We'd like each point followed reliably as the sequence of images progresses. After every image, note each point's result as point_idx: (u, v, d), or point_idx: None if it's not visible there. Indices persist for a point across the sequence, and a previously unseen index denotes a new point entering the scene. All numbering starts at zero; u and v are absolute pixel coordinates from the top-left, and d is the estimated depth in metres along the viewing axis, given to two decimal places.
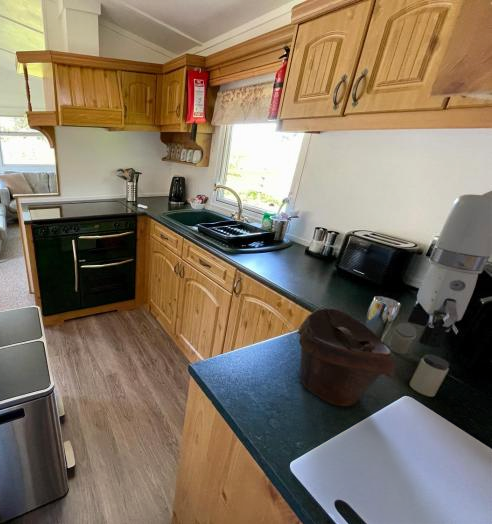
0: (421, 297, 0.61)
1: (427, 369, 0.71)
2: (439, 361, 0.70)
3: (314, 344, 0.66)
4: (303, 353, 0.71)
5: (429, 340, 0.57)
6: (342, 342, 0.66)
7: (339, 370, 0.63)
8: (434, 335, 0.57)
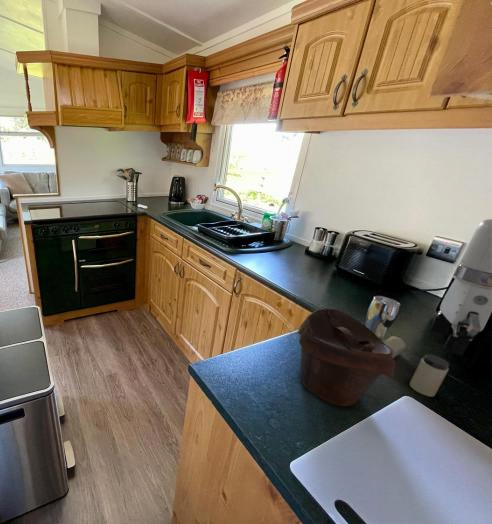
0: (445, 309, 0.68)
1: (427, 369, 0.71)
2: (439, 361, 0.70)
3: (314, 344, 0.66)
4: (303, 353, 0.71)
5: (453, 348, 0.64)
6: (342, 342, 0.66)
7: (339, 370, 0.63)
8: (458, 343, 0.64)
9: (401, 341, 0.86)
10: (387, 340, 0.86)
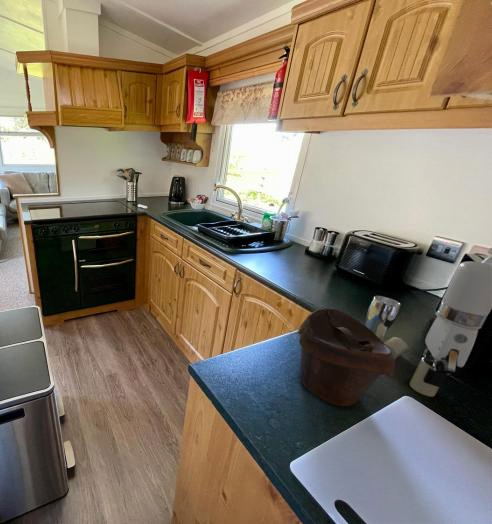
0: (429, 343, 0.72)
1: (427, 369, 0.71)
2: None
3: (314, 344, 0.66)
4: (303, 353, 0.71)
5: (432, 381, 0.69)
6: (342, 342, 0.66)
7: (339, 370, 0.63)
8: (436, 377, 0.69)
9: (404, 343, 0.85)
10: (390, 341, 0.85)
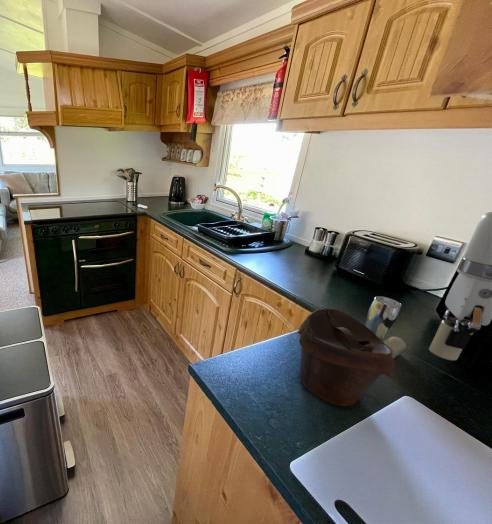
0: (450, 303, 0.68)
1: (449, 330, 0.67)
2: None
3: (314, 344, 0.66)
4: (303, 353, 0.71)
5: (454, 342, 0.65)
6: (342, 342, 0.66)
7: (339, 370, 0.63)
8: (459, 338, 0.65)
9: (402, 341, 0.86)
10: (388, 340, 0.86)
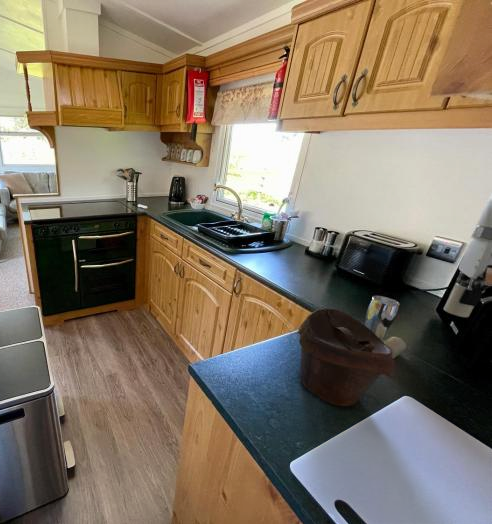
0: (464, 267, 0.77)
1: (462, 290, 0.76)
2: None
3: (314, 344, 0.66)
4: (303, 353, 0.71)
5: (468, 300, 0.74)
6: (342, 342, 0.66)
7: (339, 370, 0.63)
8: (472, 296, 0.74)
9: (402, 341, 0.86)
10: (388, 340, 0.86)
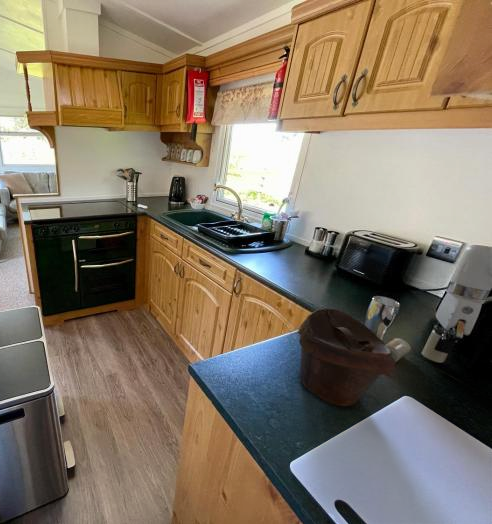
0: (439, 316, 0.83)
1: (438, 338, 0.82)
2: None
3: (314, 344, 0.66)
4: (303, 353, 0.71)
5: (442, 348, 0.81)
6: (342, 342, 0.66)
7: (339, 370, 0.63)
8: (446, 344, 0.80)
9: (408, 346, 0.85)
10: (396, 343, 0.84)
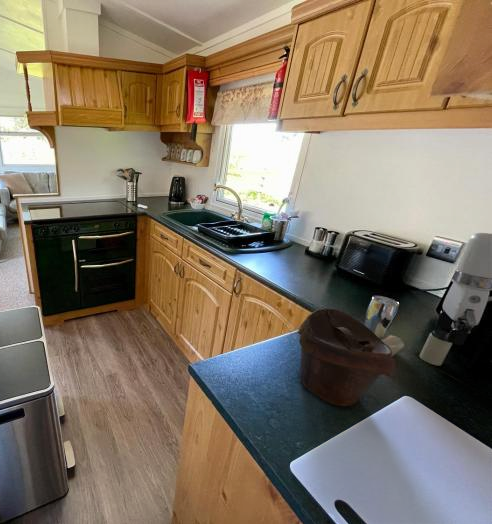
0: (446, 307, 0.82)
1: (435, 341, 0.83)
2: (445, 335, 0.82)
3: (314, 344, 0.66)
4: (303, 353, 0.71)
5: (454, 339, 0.77)
6: (342, 342, 0.66)
7: (339, 370, 0.63)
8: (458, 335, 0.77)
9: (397, 339, 0.87)
10: (383, 339, 0.87)
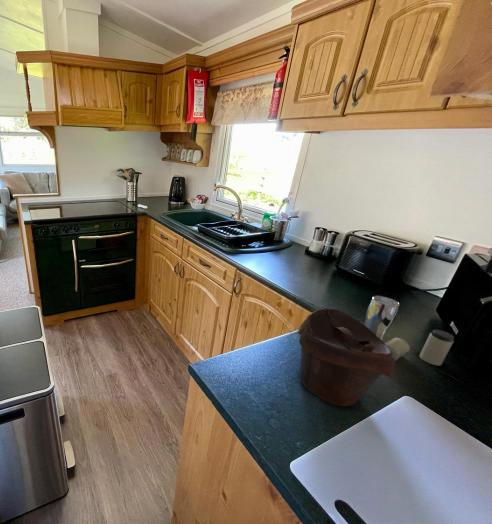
0: None
1: (435, 341, 0.83)
2: (445, 335, 0.82)
3: (314, 344, 0.66)
4: (303, 353, 0.71)
5: None
6: (342, 342, 0.66)
7: (339, 370, 0.63)
8: None
9: (406, 345, 0.85)
10: (394, 342, 0.85)
